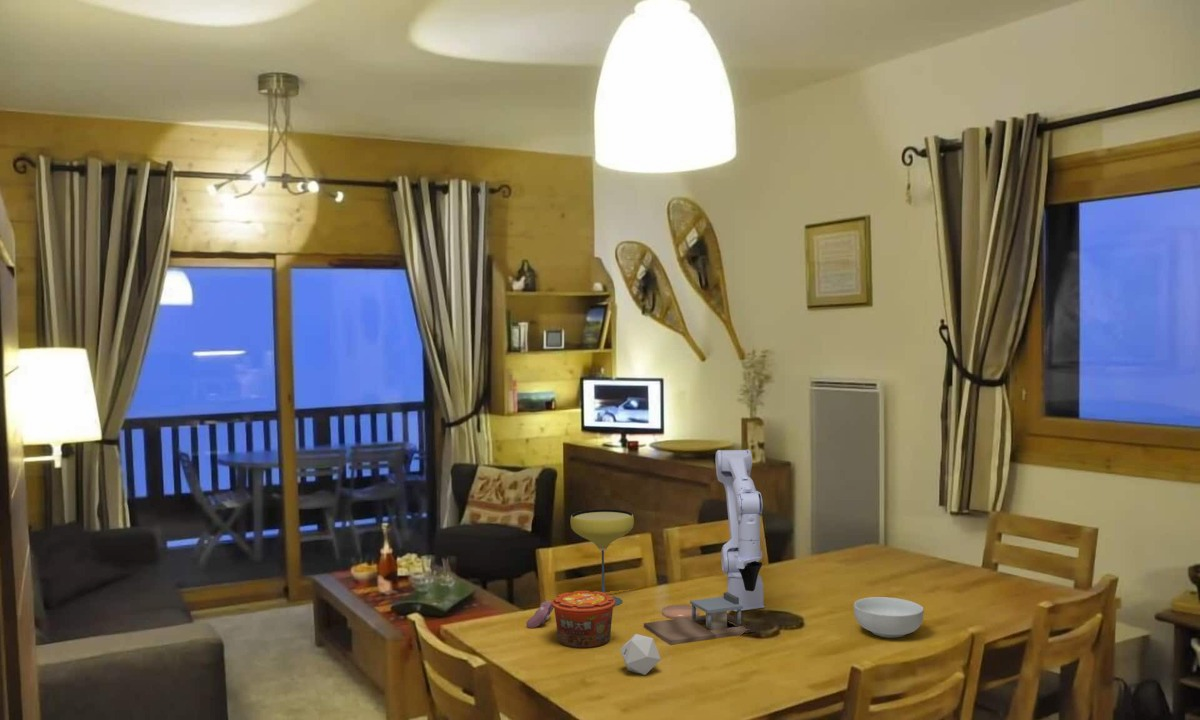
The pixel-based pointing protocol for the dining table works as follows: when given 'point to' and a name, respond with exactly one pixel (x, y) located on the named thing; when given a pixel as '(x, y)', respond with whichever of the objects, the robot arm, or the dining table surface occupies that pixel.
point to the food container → (583, 618)
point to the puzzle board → (690, 630)
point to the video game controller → (540, 615)
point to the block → (718, 620)
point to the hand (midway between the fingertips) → (750, 590)
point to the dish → (678, 611)
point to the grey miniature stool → (717, 606)
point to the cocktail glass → (602, 529)
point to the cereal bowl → (888, 616)
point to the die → (640, 654)
